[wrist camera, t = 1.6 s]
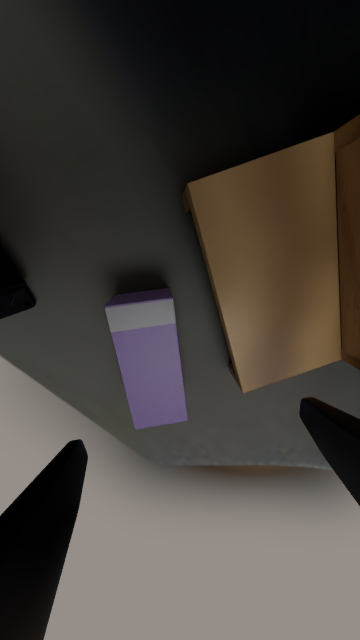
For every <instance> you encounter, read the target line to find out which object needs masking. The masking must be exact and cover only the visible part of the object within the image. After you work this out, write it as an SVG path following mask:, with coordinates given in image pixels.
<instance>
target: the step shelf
mask: <svg viewBox="0 0 360 640" xmlns="http://www.w3.org/2000/svg"><path fill="white" fill-rule="evenodd" d="M335 160H336V181H337V212H338V243H339V272H338V243H337V213H336V184H335ZM181 198H182V202H183V205H184V209H185V212H189V211H191V213H192V216H193V220H194V224H195V227H196V231H197V235H198V238H199V242H200V246H201V249H202V253H203V257H204V261H205V264H206V268H207V272H208V275H209V279H210V283H211V286H212V290H213V294H214V297H215V301H216V305H217V309H218V312H219V316H220V320H221V323H222V327H223V331H224V334H225V338H226V342H227V345H228V349H229V353H230V357H231V360H232V363H231V364H229V369H230V373H231V374H232V376H233V378H234V379H235V381H236V383H237V384H238V386H239V388H240V389H241V391H242V393H246V392H249V391H252V390H255V389H258V388H261V387H264V386H267V385H269V384H272V383H275V382H278V381H281V380H284V379H287V378H290V377H293V376H295V375H298V374H301V373H304V372H307V371H310V370H313V369H316V368H319V367H321V366H324V365H327V364H330V363H333V362H336V361H339V360H341V359H342V360H344V361H345V362H347V363H349V364H350V365H352V366H354V367H355V368H357V369H359V370H360V114H359V115H358V116H356V117H355V118H353V119H352V120H350V121H349V122H348V123H346V124H345V125H343V126H342V127H340V128H339V129H337V130H336V131H334V132H331V133H329V134H326V135H323V136H320V137H317V138H314V139H312V140H309V141H306V142H303V143H300V144H297V145H295V146H292V147H289V148H286V149H283V150H280V151H278V152H275V153H272V154H269V155H266V156H263V157H261V158H258V159H255V160H252V161H249V162H246V163H244V164H241V165H238V166H235V167H232V168H230V169H227V170H224V171H221V172H218V173H215V174H213V175H210V176H207V177H204V178H201V179H198V180H196V181H193V182H190V183H188V184H187V186H186V188H185V190H184V193H183V195H182V197H181ZM339 274H340V302H339ZM340 305H341V326H340Z"/></svg>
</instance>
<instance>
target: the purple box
mask: <svg viewBox="0 0 360 640" xmlns="http://www.w3.org/2000/svg"><path fill="white" fill-rule="evenodd" d="M105 312H106V316H107V320H108V324H109V328H110V332H111V335H112V339H113V343H114V347H115V351H116V355H117V359H118V363H119V367H120V371H121V375H122V379H123V383H124V387H125V391H126V395H127V399H128V403H129V407H130V411H131V415H132V419H133V423H134V427H135V430H136V429H142V428H148V427H154V426H159V425H165V424H171V423H177V422H182V421H188V417H187V409H186V401H185V392H184V384H183V376H182V368H181V360H180V352H179V344H178V336H177V328H176V318H175V309H174V301H173V297H172V294H171V291H170V288H165V289H157V290H149V291H142V292H134V293H126V294H118V295H115V296H114V297H113V298H112V299H111V300H110V301H109V302H108V303H107V304H106V305H105Z"/></svg>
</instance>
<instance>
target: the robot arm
mask: <svg viewBox="0 0 360 640" xmlns="http://www.w3.org/2000/svg"><path fill="white" fill-rule="evenodd" d="M26 301H29V302H30V305H29V304H27V302H26ZM35 305H36V302H35V299H34V298H33V296H32V295H31V293H30V291H29V290H28V288H27V286H26V285H25V281H24V280H23V278H22V276H21V275H20V273H19V271H18V270H17V268H16V266H15V265H14V263H13V262H12V260H11V258H10V257H9V255H8V254H7V253H6V252H5V251H4V249H3V247H2V246H1V244H0V319H2V318H4V317H7V316H10V315H13V314H16V313H19V312H21V311H24V310H27V309H30V308H32V307H34V306H35ZM299 414H300V418H301V420H302V422H303V423H304V425H305V426H306V428H307V430H308V431H309V433H310V435H311V436H312V438H313V440H314V441H315V443H316V445H317V446H318V448H319V449H320V451H321V453H322V454H323V456H324V457H325V459H326V460H327V462H328V463H329V464H330V466H331V467H332V469H333V470H334V471H335V473H336V474H337V475H338V477H339V478H340V480H341V481H342V482H343V484H344V485H345V486H346V488H347V489H348V491H349V492H350V493H351V495H352V496H353V497H354V499H355V500H356V502H357V503H358V504H359V506H360V419H358V418H356V417H354V416H352V415H350V414H348V413H345V412H343V411H341V410H339V409H337V408H335V407H333V406H331V405H329V404H326V403H324V402H322V401H320V400H318V399H316V398H314V397H306V398H302V399H301V404H300V412H299ZM87 460H88V455H87V451H86V449H85V446H84V444H83V441H82V440H80V439H78V440H73V441H70V442H69V443H67V444H66V446H65V447H64V448H63V449H62V450H61V451H60V452H59V453H58V454H57V455H56V456H55V457H54V459H53V460H52V461H51V462H50V463H49V464H48V465H47V466H46V467H45V468H44V469H43V470H42V471H41V472H40V474H39V475H38V476H37V477H36V478H35V479H34V480H33V481H32V482H31V483H30V484H29V485H28V487H27V488H26V489H25V490H24V491H23V492H22V493H21V494H20V495H19V496H18V497H17V498H16V499H15V500H14V502H13V503H12V504H11V505H10V506H9V507H8V508H7V509H6V510H5V511H4V512H3V513H2V514H1V516H0V640H43V639H44V635H45V632H46V628H47V624H48V621H49V617H50V613H51V610H52V606H53V602H54V599H55V595H56V591H57V587H58V584H59V580H60V576H61V573H62V569H63V565H64V562H65V558H66V554H67V550H68V547H69V543H70V539H71V536H72V532H73V528H74V524H75V521H76V517H77V513H78V509H79V504H80V499H81V494H82V488H83V482H84V477H85V472H86V466H87Z"/></svg>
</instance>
